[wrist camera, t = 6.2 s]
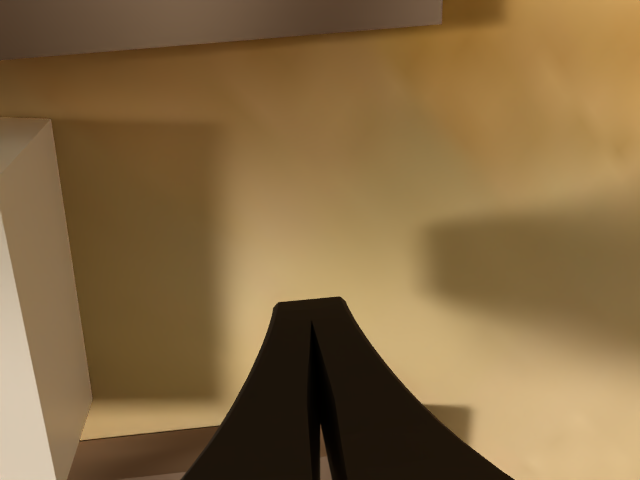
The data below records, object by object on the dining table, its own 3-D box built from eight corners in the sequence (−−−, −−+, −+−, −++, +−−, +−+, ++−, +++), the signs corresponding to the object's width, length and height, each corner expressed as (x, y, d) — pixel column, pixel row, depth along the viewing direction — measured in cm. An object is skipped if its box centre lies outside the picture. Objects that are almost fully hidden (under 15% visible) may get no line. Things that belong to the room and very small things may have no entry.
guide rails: (425, -102, 12) (451, -101, 10) (414, 452, 19) (427, 502, 17) (-411, -41, 11) (-522, -30, 9) (-82, 507, 18) (-114, 565, 17)
